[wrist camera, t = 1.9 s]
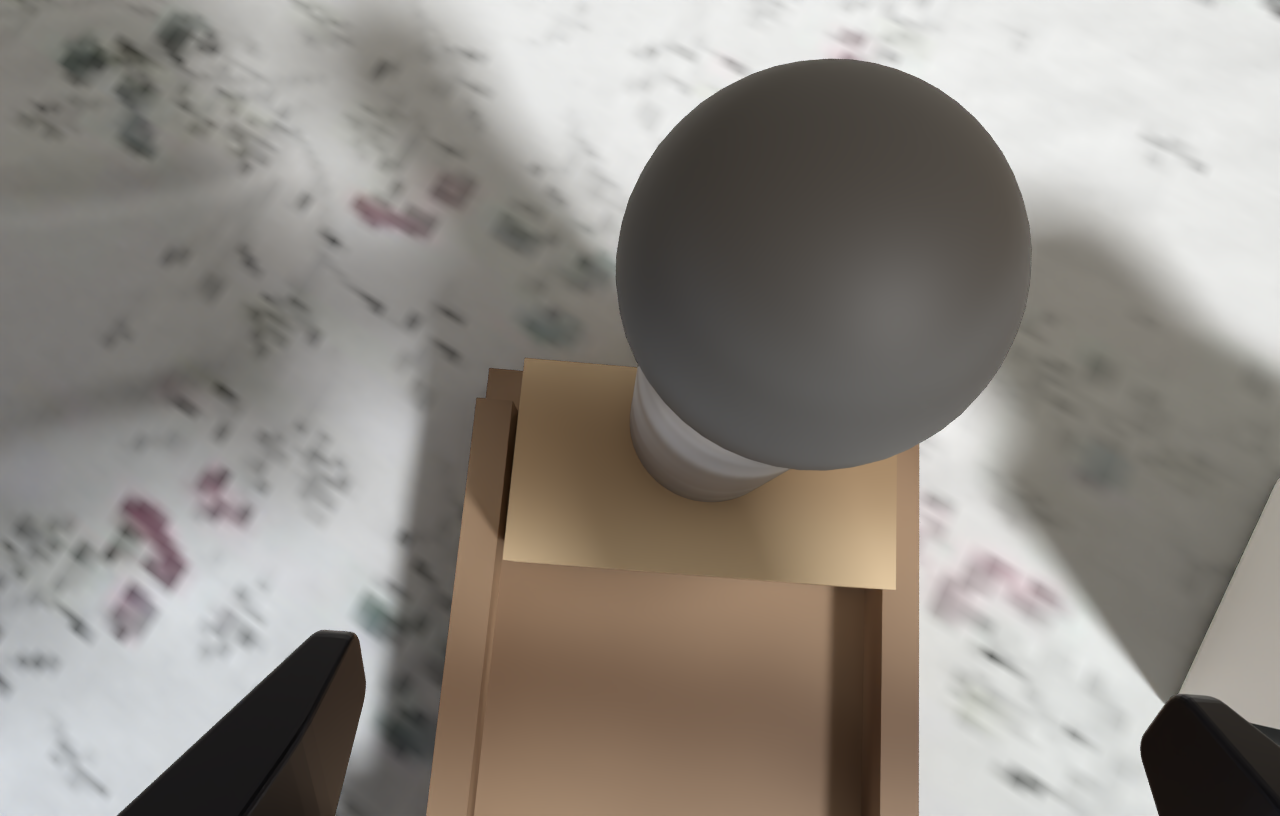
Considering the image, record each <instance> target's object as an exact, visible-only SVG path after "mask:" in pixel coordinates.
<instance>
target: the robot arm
mask: <svg viewBox="0 0 1280 816" xmlns="http://www.w3.org/2000/svg"><path fill="white" fill-rule="evenodd" d="M365 689H366V680H365V673H364V667H363V661H362V655H361V648H360V642H359V639H358V637H357V635H356V634H355V633H353V632H347V631H334V630H320V631H318V632H316V633H314V634H312V635H311V636H310V637H309V638H308V639H307V640H306V641H305V642H304V643H303V644H301V645H300V646H299V647H298V648H297V649H296V650H295V651H294V652H293V653H292V654H291V655H290V656H288V657H287V658H286V659H285V660H284V661H283V662H282V663H281V664H280V665H279V666H278V667H277V668H276V669H274V670H273V671H272V672H271V673H270V674H269V675H268V676H267V677H266V678H265V679H264V680H263V681H262V682H260V683H259V684H258V685H257V686H256V687H255V688H254V689H253V690H252V691H251V692H250V693H249V694H248V695H246V696H245V697H244V698H243V699H242V700H241V701H240V702H239V703H238V704H237V705H236V706H235V707H234V708H232V709H231V710H230V711H229V712H228V713H227V714H226V715H225V716H224V717H223V718H222V719H221V720H220V721H218V722H217V723H216V724H215V725H214V726H213V727H212V728H211V729H210V730H209V731H208V732H207V733H206V734H204V735H203V736H202V737H201V738H200V739H199V740H198V741H197V742H196V743H195V744H194V745H193V746H192V747H190V748H189V749H188V750H187V751H186V752H185V753H184V754H183V755H182V756H181V757H180V758H179V759H177V760H176V761H175V762H174V763H173V764H172V765H171V766H170V767H169V768H168V769H167V770H166V771H165V772H163V773H162V774H161V775H160V776H159V777H158V778H157V779H156V780H155V781H154V782H153V783H152V784H151V785H149V786H148V787H147V788H146V789H145V790H144V791H143V792H142V793H141V794H140V795H139V796H138V797H137V798H135V799H134V800H133V801H132V802H131V803H130V804H129V805H128V806H127V807H126V808H125V809H124V810H123V811H121V812H120V813H119V814H118V815H117V816H335V813H336V809H337V805H338V801H339V797H340V793H341V789H342V786H343V782H344V778H345V774H346V770H347V766H348V762H349V758H350V754H351V750H352V746H353V742H354V738H355V734H356V730H357V726H358V722H359V718H360V715H361V711H362V707H363V702H364V697H365ZM1140 751H1141V758H1142V762H1143V765H1144V769H1145V772H1146V775H1147V778H1148V782H1149V785H1150V788H1151V791H1152V795H1153V798H1154V801H1155V804H1156V808H1157V811H1158V814H1159V816H1280V746H1278V745H1277V744H1276V743H1275V742H1273V741H1272V740H1271V739H1270V738H1268V737H1267V736H1266V735H1265V734H1263V733H1262V732H1261V731H1259V730H1258V729H1257V728H1256V727H1254V726H1253V725H1252V724H1251V723H1249V722H1248V721H1247V720H1245V719H1244V718H1243V717H1242V716H1240V715H1239V714H1238V713H1237V712H1235V711H1234V710H1233V709H1231V708H1230V707H1229V706H1228V705H1226V704H1225V703H1224V702H1222V701H1221V700H1219V699H1217V698H1214V697H1211V696H1206V695H1193V694H1176V695H1174V696H1172V697H1171V698H1170V699H1169V700H1168V701H1167V702H1166V703H1165V705H1164V706H1163V708H1162V709H1161V710H1160V712H1159V713H1158V715H1157V716H1156V717H1155V719H1154V720H1153V722H1152V723H1151V724H1150V726H1149V727H1148V729H1147V730H1146V731H1145V733H1144V734H1143V736H1142V740H1141V746H1140Z"/></svg>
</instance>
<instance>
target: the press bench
mask: <svg viewBox="0 0 1280 816" xmlns="http://www.w3.org/2000/svg"><path fill="white" fill-rule="evenodd" d="M522 378H523V371H518V370H506V369H494V368H489V375H488V383H487V392H486V398H477V399H476V407H475V415H474V424H473V432H472V440H471V448H470V457H469V465H468V473H467V481H466V490H465V498H464V506H463V514H462V523H461V531H460V539H459V548H458V556H457V564H456V572H455V581H454V589H453V597H452V605H451V614H450V622H449V630H448V638H447V647H446V655H445V663H444V671H443V680H442V688H441V696H440V704H439V713H438V721H437V729H436V737H435V746H434V754H433V762H432V771H431V779H430V787H429V795H428V804H427V812H426V816H919V444H917V445H916V446H914V447H912V448H910V449H909V450H906V451H904V452H901V453H899V454H897V511H896V590H888V589H868V588H848V587H835V586H822V585H809V584H796V583H783V582H770V581H757V580H744V579H731V578H718V577H705V576H692V575H679V574H666V573H653V572H640V571H627V570H614V569H601V568H588V567H575V566H562V565H549V564H536V563H523V562H515V561H508V560H503V551H504V542H505V533H506V524H507V515H508V506H509V497H510V487H511V478H512V469H513V460H514V451H515V442H516V432H517V423H518V414H519V405H520V396H521V387H522Z"/></svg>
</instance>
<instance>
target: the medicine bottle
mask: <svg viewBox="0 0 1280 816" xmlns="http://www.w3.org/2000/svg"><path fill="white" fill-rule="evenodd" d="M1178 694H1193V695H1206V696H1211V697H1214V698H1217V699H1219V700H1221V701H1222V702H1224V703H1225V704H1226V705H1228V706H1229V707H1230V708H1231V709H1233V710H1234V711H1235V712H1237V713H1238V714H1239V715H1240V716H1242V717H1243V718H1244V719H1245V720H1247V721H1248V722H1249V723H1251V724H1252V725H1253V726H1254V727H1256V728H1257V729H1258V730H1259V731H1261V732H1262V733H1263V734H1265V735H1266V736H1267V737H1268V738H1270V739H1271V740H1272V741H1273V742H1275V743H1276V744H1277V745H1278V746H1280V478H1279V479H1278V480H1277V481H1276V484H1275V486H1274V488H1273V490H1272V492H1271V494H1270V497H1269V499H1268V501H1267V503H1266V505H1265V507H1264V510H1263V512H1262V514H1261V516H1260V518H1259V520H1258V523H1257V525H1256V527H1255V529H1254V531H1253V533H1252V535H1251V538H1250V540H1249V542H1248V544H1247V546H1246V548H1245V551H1244V553H1243V555H1242V557H1241V559H1240V561H1239V564H1238V566H1237V568H1236V570H1235V572H1234V574H1233V577H1232V579H1231V581H1230V583H1229V585H1228V587H1227V590H1226V592H1225V594H1224V596H1223V598H1222V600H1221V603H1220V605H1219V607H1218V609H1217V611H1216V613H1215V616H1214V618H1213V620H1212V622H1211V624H1210V626H1209V629H1208V631H1207V633H1206V635H1205V637H1204V639H1203V642H1202V644H1201V646H1200V648H1199V650H1198V652H1197V655H1196V657H1195V659H1194V661H1193V663H1192V665H1191V668H1190V670H1189V672H1188V674H1187V676H1186V678H1185V680H1184V683H1183V685H1182V687H1181V689H1180V691H1179V693H1178Z"/></svg>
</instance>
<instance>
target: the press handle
mask: <svg viewBox="0 0 1280 816" xmlns="http://www.w3.org/2000/svg"><path fill="white" fill-rule="evenodd" d="M1031 252H1032V248H1031V238H1030V228H1029V222H1028V218H1027V214H1026V210H1025V205H1024V201H1023V198H1022V195H1021V192H1020V190H1019V187H1018V184H1017V182H1016V179H1015V176H1014V174H1013V172H1012V170H1011V168H1010V166H1009V164H1008V162H1007V160H1006V158H1005V156H1004V155H1003V153H1002V151H1001V150H1000V148H999V147H998V146H997V144H996V143H995V141H994V140H993V138H992V137H991V136H990V134H989V133H988V132H987V131H986V130H985V128H984V127H983V126H982V125H981V124H980V123H979V122H978V121H977V120H976V118H975V117H974V116H973V115H971V114H970V113H969V112H968V111H967V110H966V109H965V108H963V107H962V106H961V105H960V104H959V103H958V102H957V101H955V100H954V99H952V98H951V97H949V96H948V95H947V94H945V93H944V92H942V91H941V90H939V89H938V88H936V87H934V86H932V85H931V84H929V83H927V82H925V81H923V80H921V79H919V78H917V77H915V76H912V75H910V74H907V73H905V72H903V71H900V70H898V69H894V68H891V67H887V66H883V65H880V64H876V63H871V62H864V61H858V60H850V59H820V60H808V61H799V62H793V63H789V64H784V65H779V66H774V67H771V68H768V69H765V70H762V71H759V72H757V73H754V74H751V75H749V76H747V77H745V78H743V79H741V80H739V81H737V82H735V83H733V84H731V85H729V86H727V87H725V88H723V89H721V90H720V91H718V92H717V93H715V94H714V95H712V96H711V97H709V98H708V99H706V100H705V101H703V102H702V103H700V104H699V105H698V106H697V107H696V108H695V109H693V110H692V111H691V112H690V113H689V114H688V115H687V116H685V117H684V118H683V119H682V120H681V121H680V122H679V123H678V124H677V125H676V126H675V127H674V128H673V129H672V131H671V132H670V133H669V134H668V135H667V136H666V137H665V139H664V140H663V141H662V142H661V143H660V144H659V146H658V147H657V149H656V150H655V152H654V153H653V155H652V156H651V158H650V159H649V161H648V162H647V164H646V166H645V167H644V169H643V171H642V173H641V175H640V177H639V179H638V181H637V183H636V185H635V187H634V189H633V192H632V194H631V196H630V198H629V201H628V204H627V208H626V211H625V214H624V217H623V221H622V225H621V230H620V236H619V242H618V248H617V255H616V286H617V294H618V302H619V310H620V315H621V319H622V323H623V327H624V330H625V334H626V338H627V340H628V343H629V345H630V347H631V350H632V352H633V355H634V357H635V359H636V361H637V363H638V367H627V366H616V365H604V364H592V363H580V362H568V361H556V360H544V359H533V358H525V359H524V368H523V378H522V387H521V396H520V405H519V414H518V423H517V432H516V442H515V451H514V460H513V469H512V478H511V487H510V497H509V506H508V515H507V524H506V533H505V542H504V551H503V560H508V561H515V562H523V563H536V564H549V565H562V566H575V567H588V568H601V569H614V570H627V571H640V572H653V573H666V574H679V575H692V576H705V577H718V578H731V579H744V580H757V581H770V582H783V583H796V584H809V585H822V586H835V587H848V588H868V589H888V590H896V511H897V454H899V453H901V452H904V451H906V450H909V449H910V448H912V447H914V446H916V445H917V444H919V443H921V442H922V441H924V440H926V439H928V438H929V437H931V436H933V435H934V434H936V433H937V432H939V431H941V430H942V429H943V428H944V427H946V426H947V425H948V424H950V423H951V422H952V421H953V420H955V419H956V418H957V417H958V416H960V415H961V414H962V413H963V412H964V411H965V410H966V409H967V407H968V406H969V405H970V404H971V403H972V402H973V401H974V400H975V399H976V398H977V397H978V396H979V395H980V393H981V392H982V391H983V390H984V389H985V388H986V387H987V385H988V384H989V382H990V381H991V379H992V378H993V377H994V375H995V374H996V372H997V371H998V369H999V368H1000V367H1001V365H1002V363H1003V361H1004V359H1005V357H1006V355H1007V353H1008V351H1009V349H1010V347H1011V345H1012V343H1013V341H1014V339H1015V336H1016V334H1017V332H1018V329H1019V326H1020V323H1021V320H1022V317H1023V314H1024V311H1025V307H1026V302H1027V296H1028V291H1029V285H1030V274H1031Z"/></svg>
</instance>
